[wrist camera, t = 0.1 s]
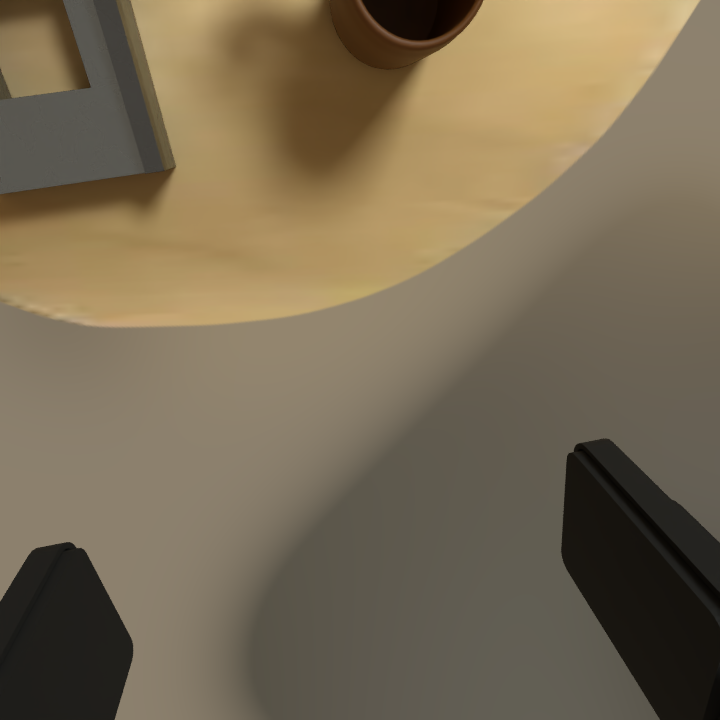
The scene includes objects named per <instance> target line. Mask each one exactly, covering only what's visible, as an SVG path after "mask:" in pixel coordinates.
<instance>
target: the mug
mask: <svg viewBox="0 0 720 720" xmlns="http://www.w3.org/2000/svg"><path fill="white" fill-rule="evenodd" d="M482 2H483V0H330V9H331V15H332V19H333V23H334V26H335V29H336V31H337V33H338V35H339V37H340V39H341V41H342V42H343V44H344V45H345V47H346V48H347V49H348V50H349V51H350V52H351V53H352V54H353V55H354V56H355V57H356V58H357V59H359V60H360V61H362V62H363V63H365V64H367V65H370V66H372V67H375V68H380V69H396V68H401V67H404V66H407V65H409V64H412V63H414V62H416V61H418V60H420V59H423V58H425V57H427V56H429V55H431V54H432V53H434V52H436V51H438V50H440V49H441V48H443V47H444V46H446V45H447V44H449V43H450V42H451V41H452V40H453V39H454V38H455V37H456V36H457V35H459V34H460V33H461V32H462V31H463V30H464V29H465V28H466V27H467V26H468V25H469V23H470V22H471V21H472V19H473V18H474V17H475V15H476V14H477V12H478V10H479V8H480V7H481V5H482Z"/></svg>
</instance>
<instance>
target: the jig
mask: <svg viewBox="0 0 720 720" xmlns="http://www.w3.org/2000/svg"><path fill="white" fill-rule="evenodd" d="M63 2H64V6H65V9H66V12H67V15H68V18H69V21H70V24H71V27H72V30H73V33H74V36H75V40H76V43H77V46H78V49H79V52H80V55H81V58H82V61H83V64H84V67H85V70H86V74H87V77H88V80H89V83H90V86H91V88H85V89H78V90H70V91H63V92H56V93H48V94H41V95H34V96H26V97H19V98H11V95H10V93H9V90H8V88H7V85H6V82H5V80H4V77H3V75H2V72H1V70H0V194H4V193H11V192H18V191H25V190H32V189H38V188H45V187H52V186H59V185H66V184H73V183H79V182H86V181H93V180H100V179H107V178H113V177H120V176H127V175H134V174H141V173H145V174H146V173H153V172H159V171H165V170H168V169H171V168H174V167H176V165H175V162H174V158H173V154H172V151H171V147H170V143H169V140H168V136H167V133H166V129H165V125H164V122H163V118H162V114H161V111H160V107H159V103H158V100H157V96H156V92H155V89H154V85H153V81H152V78H151V74H150V70H149V67H148V63H147V60H146V56H145V52H144V49H143V45H142V41H141V38H140V34H139V30H138V27H137V23H136V19H135V16H134V12H133V8H132V5H131V1H130V0H63Z"/></svg>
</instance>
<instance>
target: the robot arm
mask: <svg viewBox="0 0 720 720" xmlns="http://www.w3.org/2000/svg"><path fill="white" fill-rule="evenodd" d="M561 552H562V558H563V562H564V564H565V567H566V569H567V570H568V572H569V574H570V576H571V577H572V579H573V580H574V582H575V584H576V585H577V587H578V589H579V590H580V592H581V593H582V595H583V597H584V598H585V600H586V601H587V603H588V605H589V606H590V608H591V609H592V611H593V613H594V614H595V616H596V617H597V619H598V621H599V622H600V624H601V625H602V627H603V628H604V630H605V632H606V633H607V635H608V637H609V638H610V640H611V642H612V643H613V645H614V646H615V648H616V650H617V651H618V653H619V654H620V656H621V658H622V659H623V661H624V662H625V664H626V666H627V667H628V669H629V670H630V672H631V674H632V675H633V676H634V678H635V680H636V682H637V683H638V685H639V686H640V688H641V689H642V691H643V693H644V694H645V696H646V698H647V699H648V701H649V702H650V704H651V706H652V707H653V709H654V711H655V712H656V714H657V715H658V717H659V718H660V720H720V543H719V542H718V541H717V540H716V539H715V538H714V537H713V536H712V535H711V534H710V533H709V532H708V531H707V530H706V529H705V528H704V527H703V526H701V524H700V523H699V522H698V521H697V520H696V519H695V518H693V516H691V515H690V514H689V513H688V512H687V511H686V510H685V509H684V508H683V507H682V506H681V505H680V504H678V503H677V502H676V501H674V500H671V499H670V498H669V497H668V496H667V495H666V494H665V493H664V492H663V491H662V490H661V489H660V488H659V487H658V486H657V485H656V484H655V483H654V482H653V481H652V480H651V479H650V478H649V477H648V476H647V475H646V474H645V473H644V472H643V471H642V470H641V469H640V468H639V467H638V466H637V465H636V464H634V462H633V461H631V460H630V458H628V457H627V456H626V455H625V454H624V453H623V452H622V451H621V450H620V449H619V448H618V447H617V446H616V445H615V444H614V443H613V442H612V441H610V440H609V439H600V440H595V441H589V442H584V443H579V444H577V445H576V446H575V448H574V452H572V453H569V454H568V456H567V464H566V482H565V497H564V514H563V532H562V547H561ZM132 658H133V643H132V640H131V637H130V635H129V633H128V631H127V630H126V628H125V626H124V624H123V622H122V620H121V618H120V616H119V614H118V612H117V610H116V609H115V607H114V605H113V603H112V601H111V599H110V597H109V595H108V594H107V592H106V590H105V588H104V586H103V584H102V582H101V580H100V578H99V576H98V574H97V572H96V571H95V569H94V567H93V565H92V563H91V561H90V559H89V557H88V555H87V553H86V552H85V550H84V549H82V548H76V547H75V545H74V544H72V543H70V542H66V543H61V544H55V545H51V546H46V547H40V548H36V549H35V550H33V551H32V552H31V553H30V554H29V556H28V557H27V559H26V560H25V562H24V564H23V565H22V567H21V569H20V570H19V572H18V573H17V575H16V577H15V578H14V580H13V582H12V583H11V585H10V587H9V588H8V590H7V591H6V593H5V595H4V596H3V598H2V600H1V601H0V720H114V719H115V716H116V713H117V709H118V706H119V703H120V699H121V696H122V693H123V689H124V686H125V682H126V679H127V676H128V672H129V669H130V666H131V662H132Z"/></svg>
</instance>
